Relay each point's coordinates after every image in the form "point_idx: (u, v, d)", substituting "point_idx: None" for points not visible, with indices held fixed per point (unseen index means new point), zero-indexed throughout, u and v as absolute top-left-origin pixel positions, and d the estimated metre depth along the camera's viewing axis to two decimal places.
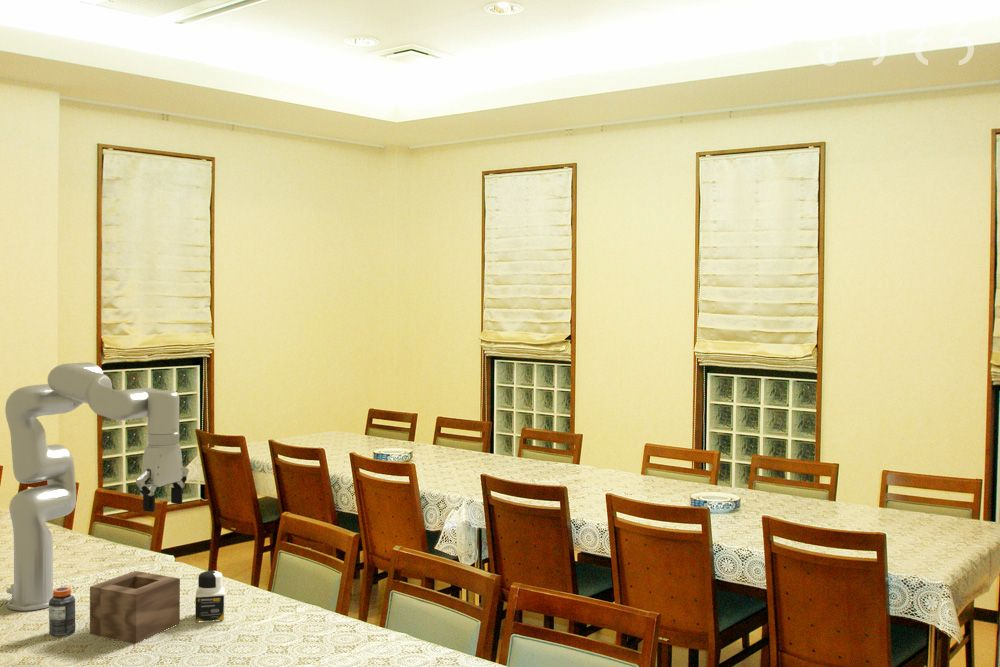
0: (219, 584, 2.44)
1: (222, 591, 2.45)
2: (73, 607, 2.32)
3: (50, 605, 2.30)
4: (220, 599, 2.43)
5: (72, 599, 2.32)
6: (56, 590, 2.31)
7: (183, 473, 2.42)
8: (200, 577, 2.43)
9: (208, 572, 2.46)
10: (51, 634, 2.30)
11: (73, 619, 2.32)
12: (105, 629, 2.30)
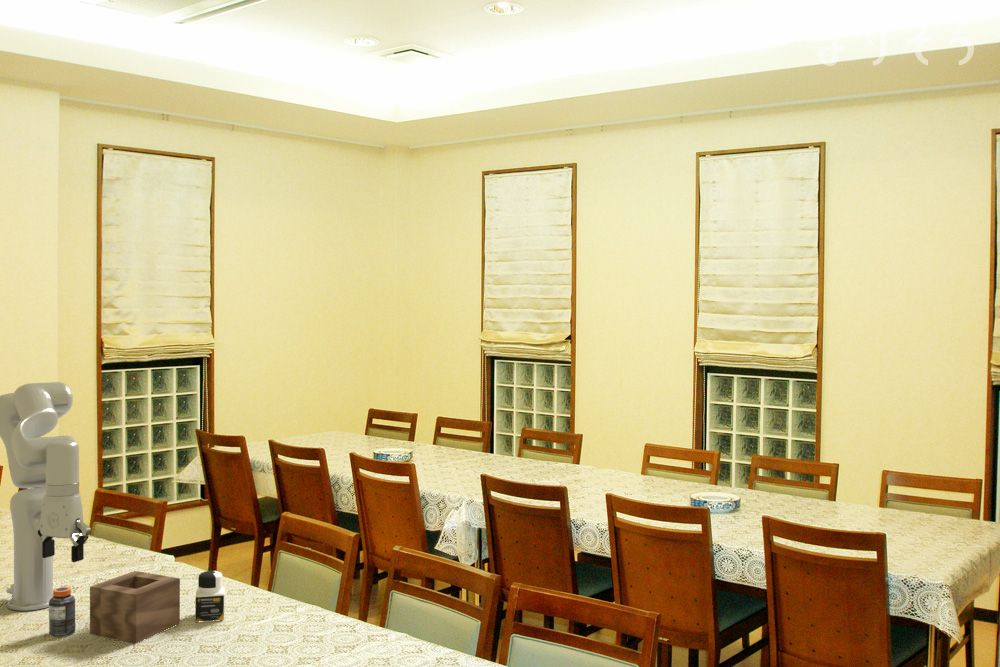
0: (219, 584, 2.44)
1: (222, 591, 2.45)
2: (73, 607, 2.32)
3: (50, 605, 2.30)
4: (220, 599, 2.43)
5: (72, 599, 2.32)
6: (56, 590, 2.31)
7: None
8: (200, 577, 2.43)
9: (208, 572, 2.46)
10: (51, 634, 2.30)
11: (73, 619, 2.32)
12: (105, 629, 2.30)
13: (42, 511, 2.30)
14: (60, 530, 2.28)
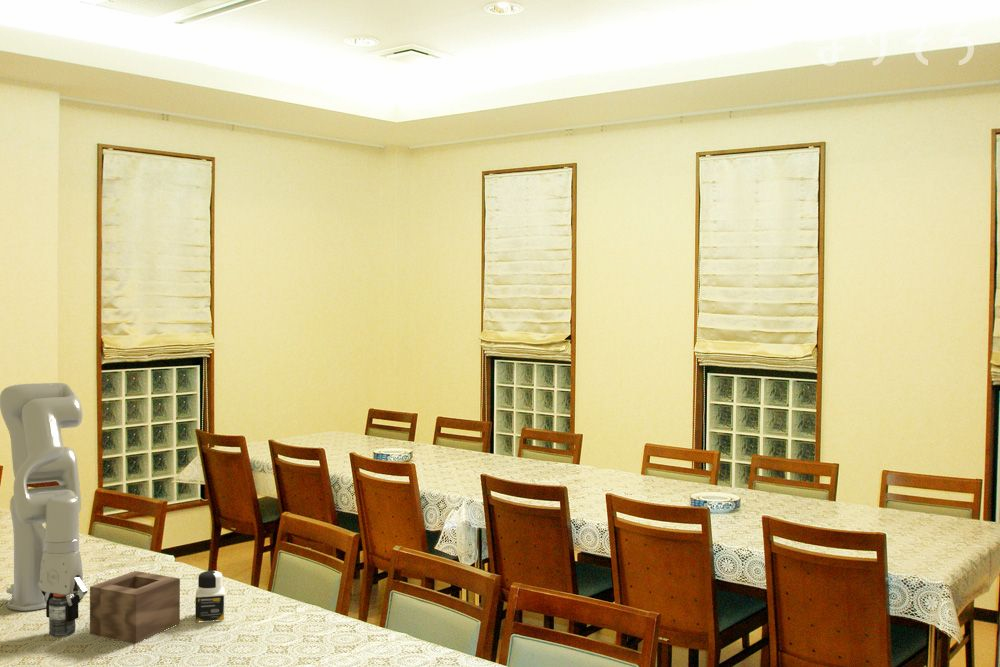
0: (219, 584, 2.44)
1: (222, 591, 2.45)
2: None
3: (50, 605, 2.30)
4: (220, 599, 2.43)
5: None
6: None
7: None
8: (200, 577, 2.43)
9: (208, 572, 2.46)
10: (51, 634, 2.30)
11: None
12: (105, 629, 2.30)
13: (42, 567, 2.31)
14: (60, 587, 2.29)
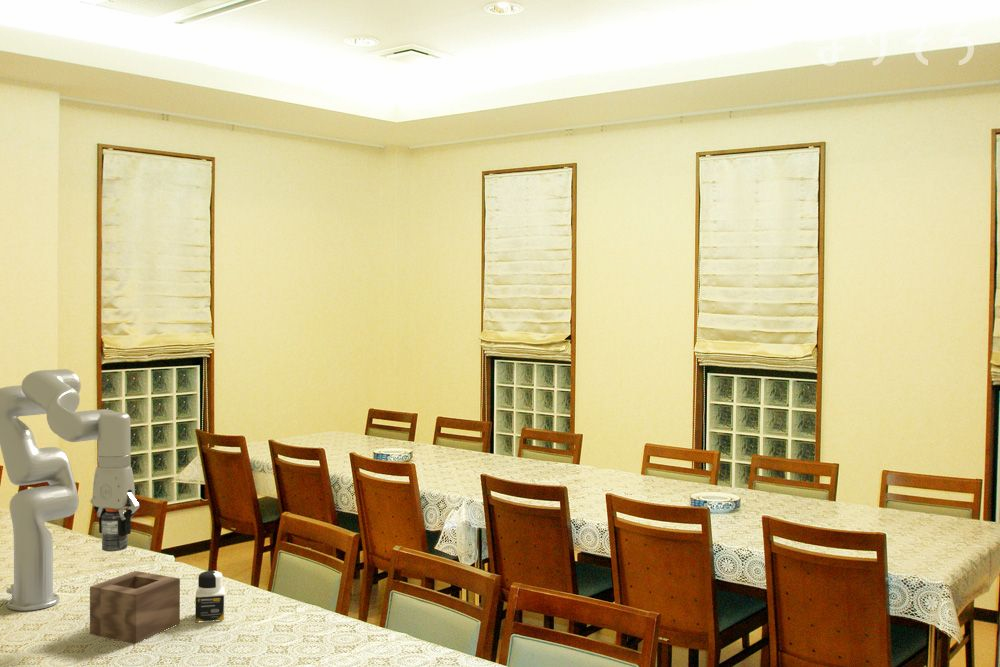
0: (219, 584, 2.44)
1: (222, 591, 2.45)
2: None
3: (103, 520, 2.32)
4: (220, 599, 2.43)
5: None
6: None
7: None
8: (200, 577, 2.43)
9: (208, 572, 2.46)
10: (104, 549, 2.32)
11: None
12: (105, 629, 2.30)
13: (94, 482, 2.33)
14: (112, 501, 2.30)
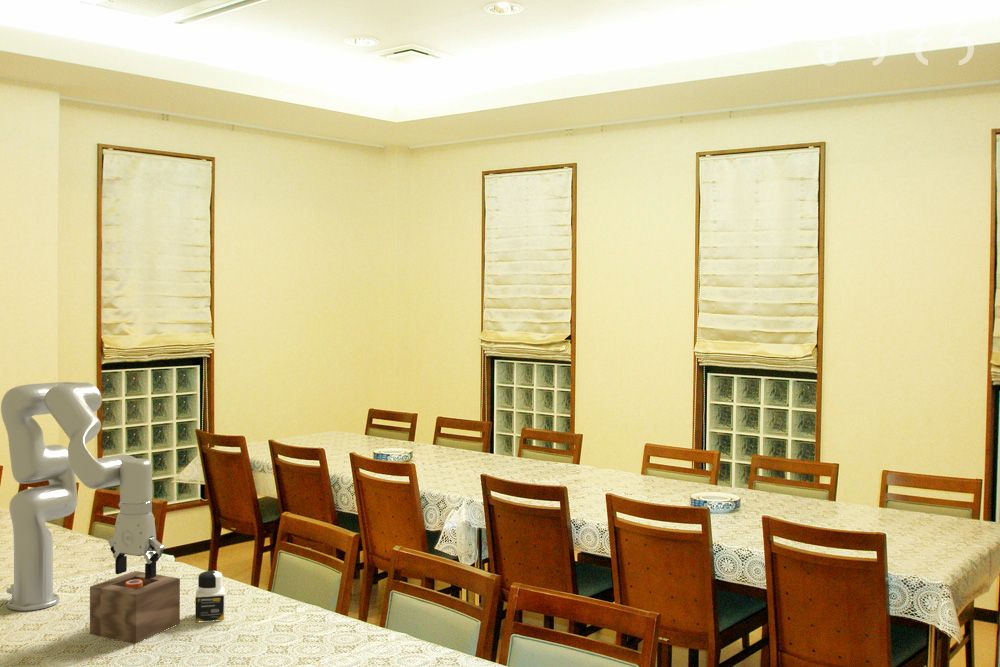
0: (219, 584, 2.44)
1: (222, 591, 2.45)
2: None
3: None
4: (220, 599, 2.43)
5: None
6: (128, 583, 2.35)
7: None
8: (200, 577, 2.43)
9: (208, 572, 2.46)
10: None
11: None
12: (105, 629, 2.30)
13: (116, 528, 2.34)
14: (134, 548, 2.32)
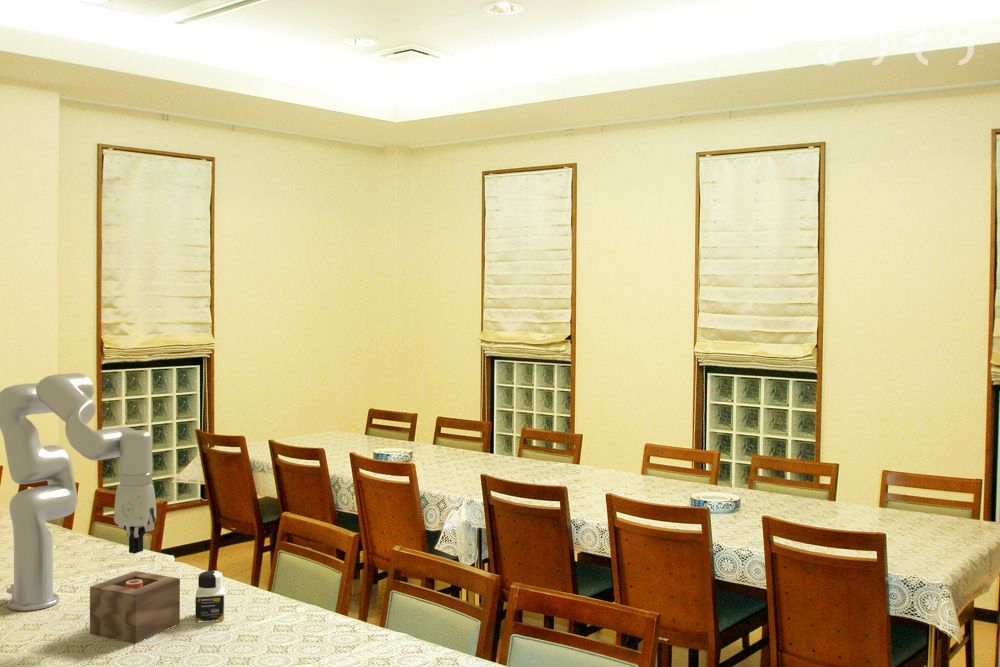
0: (219, 584, 2.44)
1: (222, 591, 2.45)
2: None
3: None
4: (220, 599, 2.43)
5: None
6: (128, 582, 2.35)
7: None
8: (200, 577, 2.43)
9: (208, 572, 2.46)
10: None
11: None
12: (105, 629, 2.30)
13: (116, 500, 2.34)
14: (134, 519, 2.32)
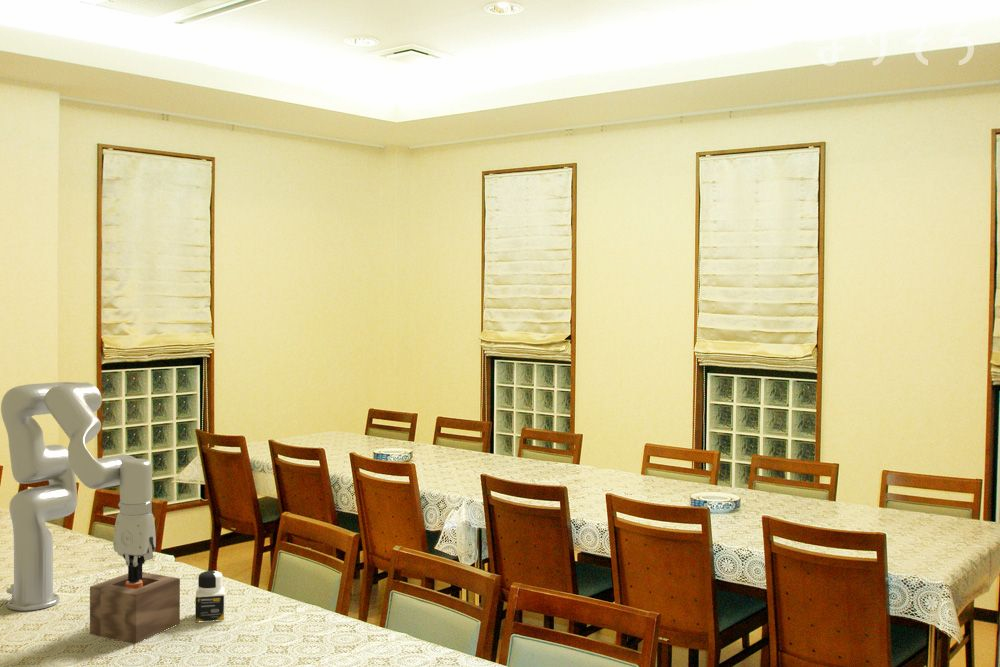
0: (219, 584, 2.44)
1: (222, 591, 2.45)
2: None
3: None
4: (220, 599, 2.43)
5: None
6: (128, 583, 2.35)
7: None
8: (200, 577, 2.43)
9: (208, 572, 2.46)
10: None
11: None
12: (105, 629, 2.30)
13: (116, 529, 2.34)
14: (134, 548, 2.32)
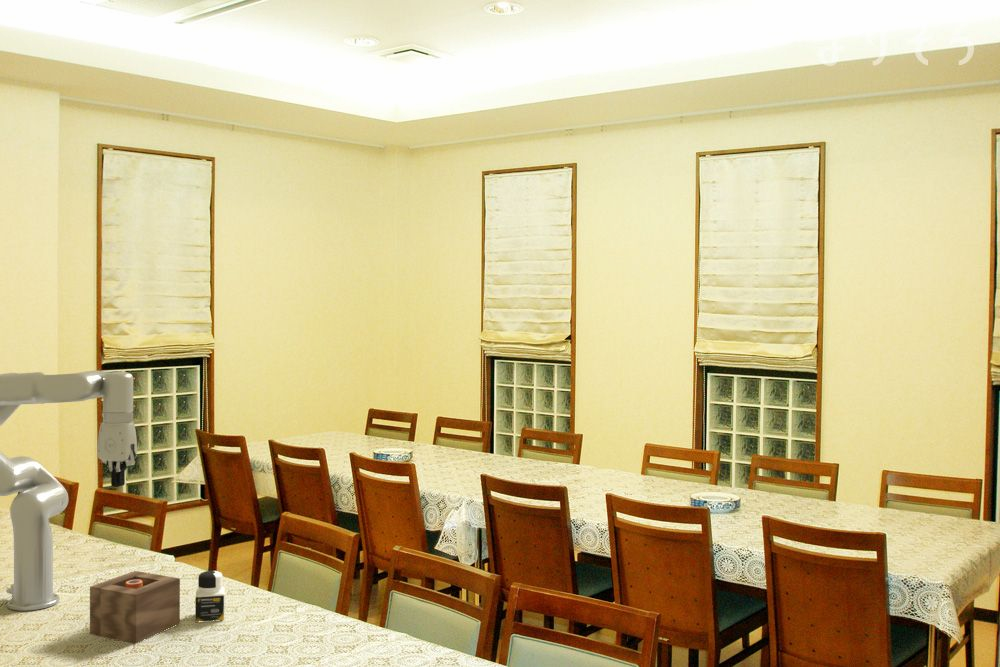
0: (219, 584, 2.44)
1: (222, 591, 2.45)
2: None
3: None
4: (220, 599, 2.43)
5: None
6: (128, 582, 2.35)
7: None
8: (200, 577, 2.43)
9: (208, 572, 2.46)
10: None
11: None
12: (105, 629, 2.30)
13: (99, 437, 2.50)
14: (116, 454, 2.48)
